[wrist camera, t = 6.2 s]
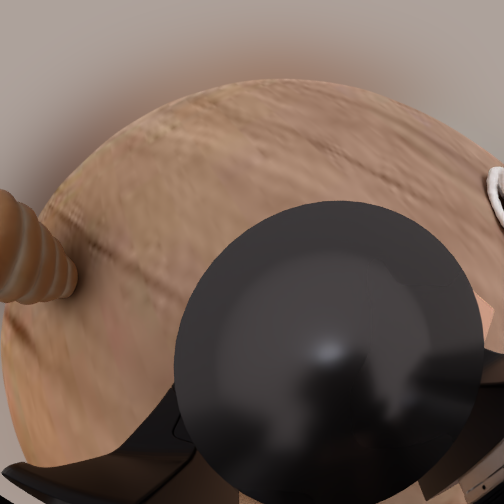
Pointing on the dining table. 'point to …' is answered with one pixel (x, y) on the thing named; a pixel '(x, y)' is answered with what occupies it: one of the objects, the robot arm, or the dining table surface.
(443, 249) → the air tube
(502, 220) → the white lumpy sculpture
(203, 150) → the dining table surface
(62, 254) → the cat ice cream
